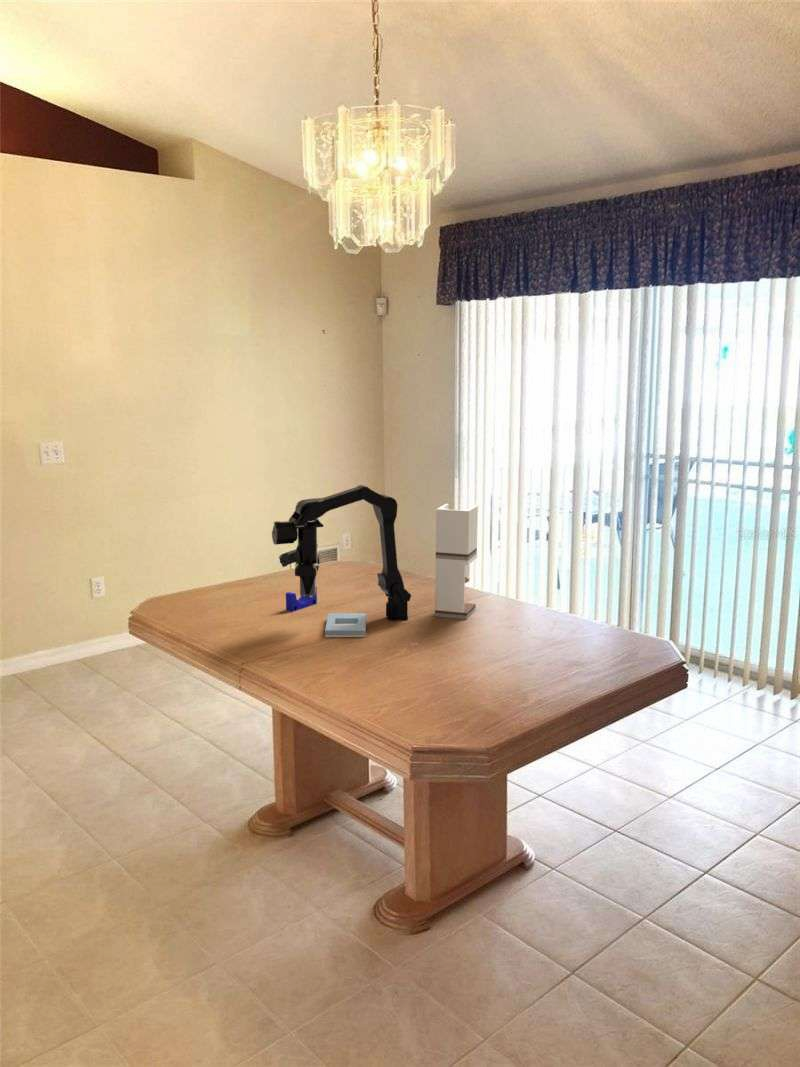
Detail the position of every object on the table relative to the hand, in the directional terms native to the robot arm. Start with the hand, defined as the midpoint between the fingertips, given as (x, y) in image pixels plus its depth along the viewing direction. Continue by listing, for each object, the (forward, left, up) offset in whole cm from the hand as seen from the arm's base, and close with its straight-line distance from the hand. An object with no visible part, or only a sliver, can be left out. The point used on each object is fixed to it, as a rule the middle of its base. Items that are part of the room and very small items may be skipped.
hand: (308, 592), depth 265 cm
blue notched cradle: (+5, -24, -12) cm, 27 cm away
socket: (-12, 0, -11) cm, 16 cm away
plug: (0, 0, -1) cm, 1 cm away
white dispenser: (-47, -16, -12) cm, 51 cm away
